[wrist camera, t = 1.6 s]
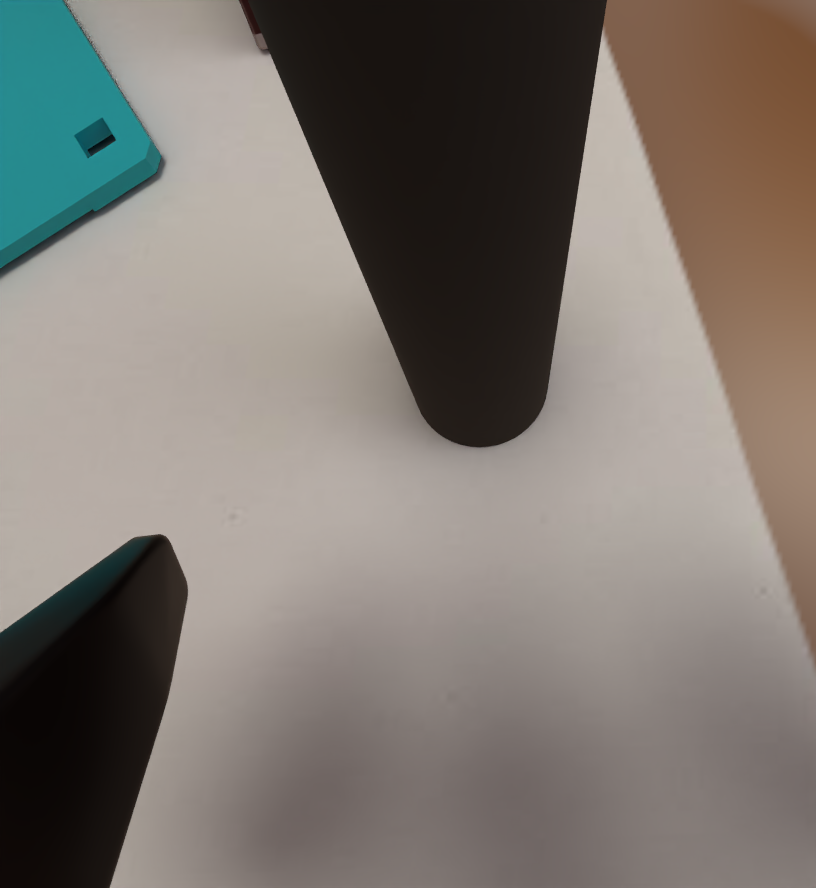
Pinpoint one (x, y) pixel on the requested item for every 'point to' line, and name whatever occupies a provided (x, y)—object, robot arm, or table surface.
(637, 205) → the table surface
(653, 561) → the table surface
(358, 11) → the post
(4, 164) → the floppy disk
